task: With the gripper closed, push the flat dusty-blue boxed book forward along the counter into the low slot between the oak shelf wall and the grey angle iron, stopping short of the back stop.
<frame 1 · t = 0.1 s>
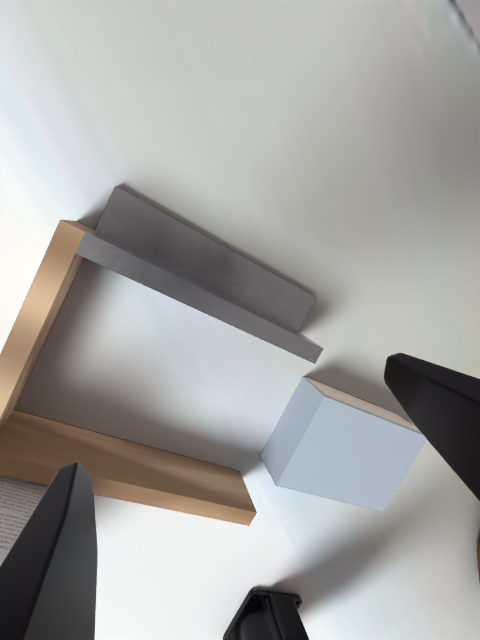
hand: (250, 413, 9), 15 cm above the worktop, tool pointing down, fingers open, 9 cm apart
grey angle iron: (203, 293, 24), on the worktop
oak shelf corner: (163, 373, 25), on the worktop
boxed book: (330, 432, 31), on the worktop
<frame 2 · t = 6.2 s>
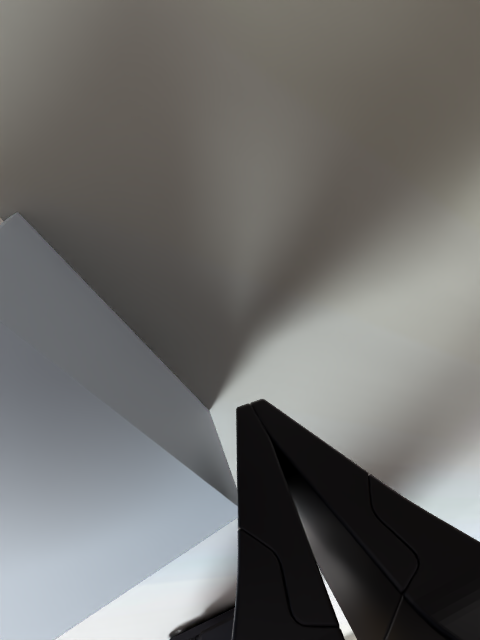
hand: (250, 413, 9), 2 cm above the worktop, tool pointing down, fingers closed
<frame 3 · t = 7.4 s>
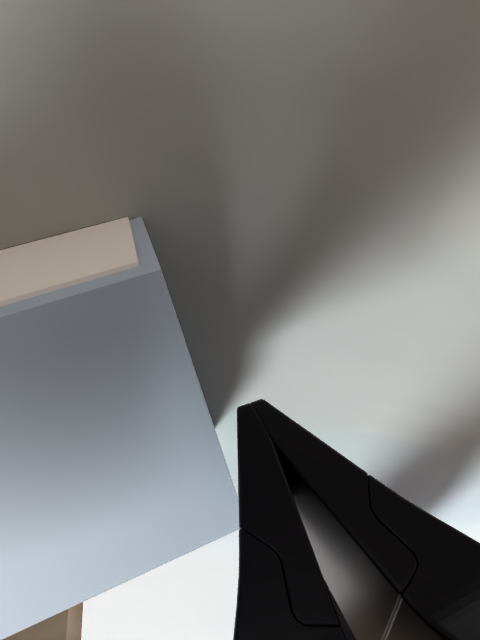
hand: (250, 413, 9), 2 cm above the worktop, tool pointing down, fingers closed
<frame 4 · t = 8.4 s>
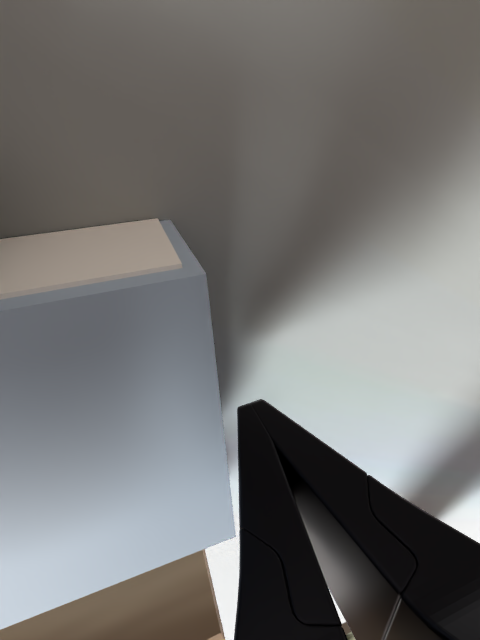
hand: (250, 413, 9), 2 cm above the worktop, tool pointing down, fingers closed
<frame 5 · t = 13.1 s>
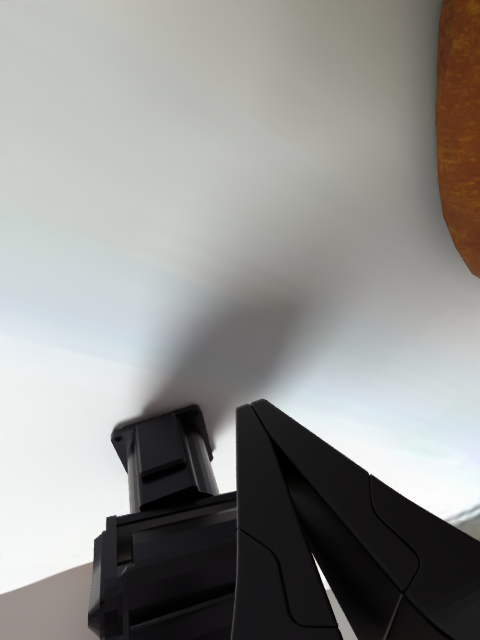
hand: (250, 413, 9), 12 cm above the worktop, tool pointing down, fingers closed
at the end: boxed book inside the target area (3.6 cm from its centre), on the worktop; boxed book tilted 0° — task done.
